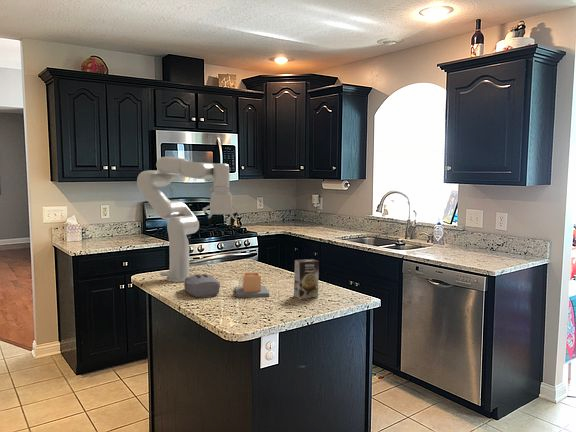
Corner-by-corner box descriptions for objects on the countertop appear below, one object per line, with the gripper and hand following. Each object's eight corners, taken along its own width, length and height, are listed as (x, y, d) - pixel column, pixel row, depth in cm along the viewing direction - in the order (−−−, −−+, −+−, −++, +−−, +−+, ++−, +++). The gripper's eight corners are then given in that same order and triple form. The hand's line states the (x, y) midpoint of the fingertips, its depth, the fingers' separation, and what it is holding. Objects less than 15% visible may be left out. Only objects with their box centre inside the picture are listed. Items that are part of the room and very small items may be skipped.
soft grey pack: (224, 296, 208) (210, 286, 225) (224, 277, 207) (210, 268, 225) (190, 299, 201) (178, 289, 219) (189, 280, 200) (178, 271, 218)
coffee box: (299, 299, 203) (300, 262, 202) (293, 295, 209) (294, 259, 208) (318, 297, 207) (319, 260, 205) (312, 294, 213) (312, 258, 211)
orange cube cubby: (243, 292, 208) (244, 276, 208) (242, 288, 216) (242, 272, 215) (260, 291, 210) (260, 275, 209) (258, 287, 217) (258, 272, 216)
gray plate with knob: (236, 297, 205) (237, 280, 204) (234, 289, 218) (234, 273, 218) (269, 296, 207) (269, 279, 206) (265, 288, 221) (265, 272, 220)
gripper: (202, 190, 217) (202, 227, 218) (240, 190, 220) (240, 227, 221) (202, 189, 224) (202, 225, 226) (239, 189, 227) (238, 225, 229)
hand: (221, 226), depth 224 cm, fingers open, 9 cm apart
